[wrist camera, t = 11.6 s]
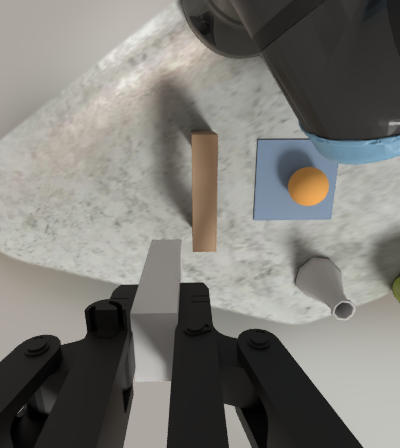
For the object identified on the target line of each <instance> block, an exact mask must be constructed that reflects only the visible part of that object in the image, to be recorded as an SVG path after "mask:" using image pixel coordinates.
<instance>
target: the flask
mask: <svg viewBox="0 0 400 448" xmlns="http://www.w3.org/2000/svg"><path fill="white" fill-rule="evenodd" d="M295 285H296V286H297V287H298V288H299V289H300V290H301V291H302V292H303V293H304V294H305V295H307V296H309V297H311V298H314V299H316V300H318V301H320V302H322V303H324V304H326V305H327V306H328V307H330V309H331V314H332V315H333V316H334V317H336V319H337V320H345V321H346V320H348V319H349V318H350V317H352V316H353V315H354V312H355V309H356V306H355V305H354V304H353V303H352V302H351V301H350V300H347V298H346V296H345V294H344V291H343V285H342V279H341V271H340V269H339V268H338V267H337V266H336V265H335V264H334V263H333V262H332V261H331V260H330V259H324V258H315V257H312V258H311V259H310V260H309V261H308V262H306V263H305V264H304V265H303V266H302V267H300V268H299V271H298V274H297V278H296V282H295Z"/></svg>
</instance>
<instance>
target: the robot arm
mask: <svg viewBox="0 0 400 448" xmlns="http://www.w3.org/2000/svg"><path fill="white" fill-rule="evenodd" d="M182 4H183V9H184V13H185V16H186V19H187V21H188V23H189V25H190V27H191V29H192V31H193V32H194V34H195V35H196V36H197V38H198V39H199V40H200V41H201V42H202V43H203V44H204V45H205V46H206V47H208V48H209V49H210V50H212V51H214V52H215V53H217V54H220V55H222V56H225V57H229V58H236V59H243V58H250V57H254V56H257V55H261V57H262V59H263V60H264V62H265V64H266V65H267V67H268V69H269V70H270V72H271V74H272V76H273V77H274V79H275V81H276V82H277V84H278V86H279V88H280V89H281V91H282V93H283V94H284V96H285V98H286V100H287V101H288V103H289V105H290V106H291V108H292V110H293V112H294V113H295V115H296V117H297V118H298V120H299V126H300V128H301V130H302V131H303V132H304V133H305V135H307V136H308V137H309V138H310V140H311V141H312V143H313V144H314V146H315V147H316V149H317V150H318V152H319V153H320V154H321V155H322V156H324V157H325V158H326V159H328V160H330V161H332V162H336V163H340V164H350V165H355V164H366V163H373V162H378V161H382V160H387V159H390V158H394V157H397V156H400V0H182ZM85 318H86V325H87V334H86V336H85V338H84V339H82V340H80V341H76V342H72V343H68V344H64V345H61V343H60V340H59V339H58V338H57V337H55V336H53V335H40V336H36V337H33V338H30V339H28V340H26V341H24V342H23V343H22V344H20V345H18V346H17V347H16V348H15V349H14V350H13V351H12V352H11V353H10V354H9V355H8V356H6V357H5V358H4V359H3V360H2V361H1V362H0V448H123V445H124V440H125V435H126V430H127V425H128V420H129V415H130V410H131V404H132V399H133V377H134V373H135V380H136V382H150V381H171V394H170V409H169V422H168V424H169V425H168V437H167V448H229V444H228V436H227V428H226V419H225V410H224V404H228V405H232V406H235V409H236V413H237V415H238V417H239V420H240V422H241V424H242V426H243V428H244V431H245V433H246V435H247V438H248V440H249V442H250V444H251V447H252V448H363V447H362V445H361V444H360V443H359V442H358V440H357V439H356V438H355V436H354V435H353V434H352V433H351V431H350V430H349V429H348V428H347V426H346V425H345V424H344V422H343V421H342V420H341V419H340V417H339V416H338V415H337V413H336V412H335V411H334V409H333V408H332V407H331V406H330V404H329V403H328V402H327V400H326V399H325V398H324V397H323V395H322V394H321V393H320V392H319V390H318V389H317V388H316V386H315V385H314V384H313V383H312V381H311V380H310V379H309V377H308V376H307V375H306V374H305V372H304V371H303V370H302V368H301V367H300V366H299V365H298V363H297V362H296V361H295V360H294V358H293V357H292V356H291V354H290V353H289V352H288V350H287V349H286V348H285V347H284V345H283V344H282V343H281V342H280V340H279V339H278V338H277V337H276V336H275V335H274V334H272V333H270V332H268V331H266V330H261V329H249V330H246V331H243V332H242V333H241V334H240V335H239V337H238V339H237V338H232V337H228V336H225V335H223V334H221V333H219V332H218V331H217V330H216V329H215V328H214V326H213V323H212V315H211V305H210V297H209V288H208V287H207V286H206V285H205V284H204V283H203V282H201V283H182V243H181V240H152V242H151V245H150V248H149V252H148V255H147V259H146V262H145V265H144V269H143V272H142V275H141V279H140V282H139V285H120V286H119V287H118V288H116V289H115V290H114V291H113V293H112V296H111V298H110V299H105V300H100V301H97V302H94V303H93V304H91V305H89V306H88V307H87V308H86V309H85ZM23 406H24V407H23ZM22 407H23V409H22ZM21 409H22V410H21ZM20 410H21V411H20ZM19 411H20V412H19ZM18 412H19V413H18ZM17 413H18V414H17Z"/></svg>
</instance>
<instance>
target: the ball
mask: <svg viewBox="0 0 400 448" xmlns="http://www.w3.org/2000/svg"><path fill="white" fill-rule="evenodd" d="M328 190H329V182H328V179H327V177H326V175H325V174H324V173H323V172H322V171H321V170H319V169H317V168H314V167H305V168H301V169H299V170H297V171H296V172H295V173H294V174H293V175H292V176H291V178H290V180H289V183H288V191H289V194H290V196H291V198H292V199H293V200H294V201H295V202H296V203H298V204H300V205H303V206H312V205H316V204H318V203H320V202H321V201H322V200H323V199H324V198H325V197H326V195H327V193H328Z"/></svg>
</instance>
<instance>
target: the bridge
mask: <svg viewBox="0 0 400 448" xmlns="http://www.w3.org/2000/svg"><path fill="white" fill-rule="evenodd" d="M191 148H192V213H193V216H192V236H193V252H216V242H217V167H218V134H216V133H215V132H213V131H191Z"/></svg>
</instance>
